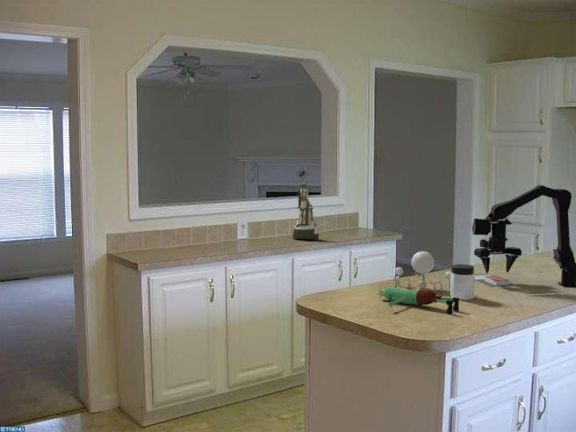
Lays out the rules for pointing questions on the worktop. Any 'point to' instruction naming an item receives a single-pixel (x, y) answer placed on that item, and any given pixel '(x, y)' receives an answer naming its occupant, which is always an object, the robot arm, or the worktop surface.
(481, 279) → the mat
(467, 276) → the jar
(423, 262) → the figurines
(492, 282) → the card deck
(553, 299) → the worktop surface
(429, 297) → the toy
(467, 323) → the worktop surface
